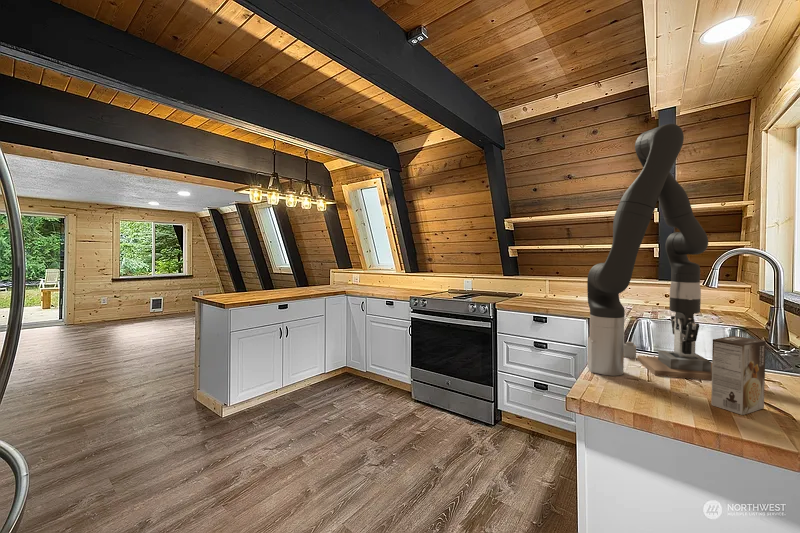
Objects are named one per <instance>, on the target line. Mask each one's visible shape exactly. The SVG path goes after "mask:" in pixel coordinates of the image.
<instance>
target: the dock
mask: <svg viewBox="0 0 800 533" xmlns="http://www.w3.org/2000/svg"><path fill="white" fill-rule="evenodd" d="M657 352H658V353H657V356H647V355H645V356H644V355H636V359H637V361H638V363H640V364H642V366H644V367H645V368H646V369H647V371H650V372H651V373H652V374H653V375H654V376H657V377H658V376H660V377H672V378H683V379H684V378H685V379H696V380H707V381H712V360H708V359H707V358H705V357H703V356H702V355H701V354H700V355H699V354H698V353H696V352H695V359H689V358H676V357H674V350H673V351H671V350H660V349H659V350H658V351H657Z"/></svg>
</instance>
